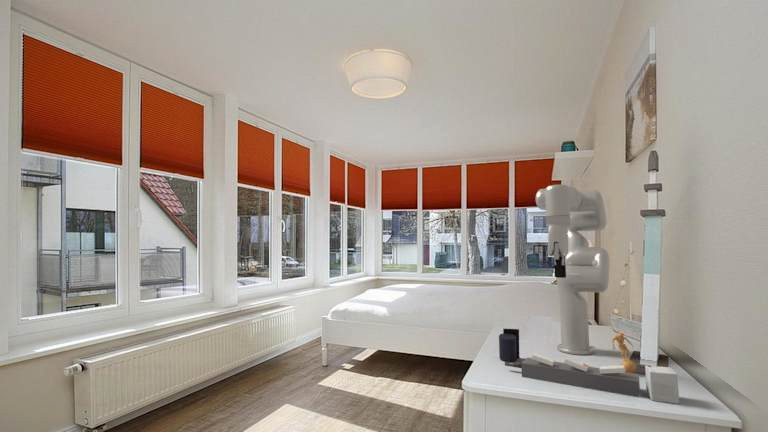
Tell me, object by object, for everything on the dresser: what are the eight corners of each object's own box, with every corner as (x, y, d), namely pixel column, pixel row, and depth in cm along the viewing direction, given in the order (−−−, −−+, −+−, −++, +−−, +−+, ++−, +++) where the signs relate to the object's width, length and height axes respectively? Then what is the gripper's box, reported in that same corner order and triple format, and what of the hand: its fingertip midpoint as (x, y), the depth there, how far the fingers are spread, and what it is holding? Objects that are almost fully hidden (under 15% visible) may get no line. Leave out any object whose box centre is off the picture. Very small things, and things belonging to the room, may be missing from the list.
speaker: (503, 354, 143) (503, 326, 143) (519, 357, 140) (519, 328, 140) (496, 361, 137) (496, 332, 137) (513, 365, 134) (513, 335, 133)
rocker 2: (565, 360, 117) (567, 356, 117) (587, 369, 114) (589, 364, 114) (564, 363, 115) (565, 358, 115) (586, 372, 111) (587, 367, 111)
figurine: (624, 376, 119) (622, 336, 120) (607, 370, 125) (605, 332, 126) (644, 373, 122) (642, 334, 123) (626, 368, 128) (624, 330, 129)
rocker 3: (601, 370, 112) (600, 366, 112) (625, 369, 109) (624, 365, 109) (600, 373, 109) (599, 369, 110) (625, 372, 106) (623, 368, 107)
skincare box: (679, 404, 99) (678, 374, 100) (651, 400, 101) (649, 371, 102) (673, 395, 105) (671, 367, 105) (645, 392, 107) (644, 364, 107)
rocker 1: (534, 356, 122) (534, 352, 122) (554, 363, 119) (555, 359, 119) (531, 358, 120) (532, 354, 120) (552, 366, 116) (553, 362, 116)
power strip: (508, 367, 130) (508, 353, 130) (639, 388, 110) (638, 372, 110) (502, 373, 124) (501, 358, 124) (639, 397, 104) (638, 380, 104)
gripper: (551, 223, 141) (552, 275, 139) (541, 221, 128) (543, 278, 127) (574, 222, 136) (576, 276, 135) (566, 220, 124) (568, 279, 123)
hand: (560, 277), depth 131 cm, fingers closed
